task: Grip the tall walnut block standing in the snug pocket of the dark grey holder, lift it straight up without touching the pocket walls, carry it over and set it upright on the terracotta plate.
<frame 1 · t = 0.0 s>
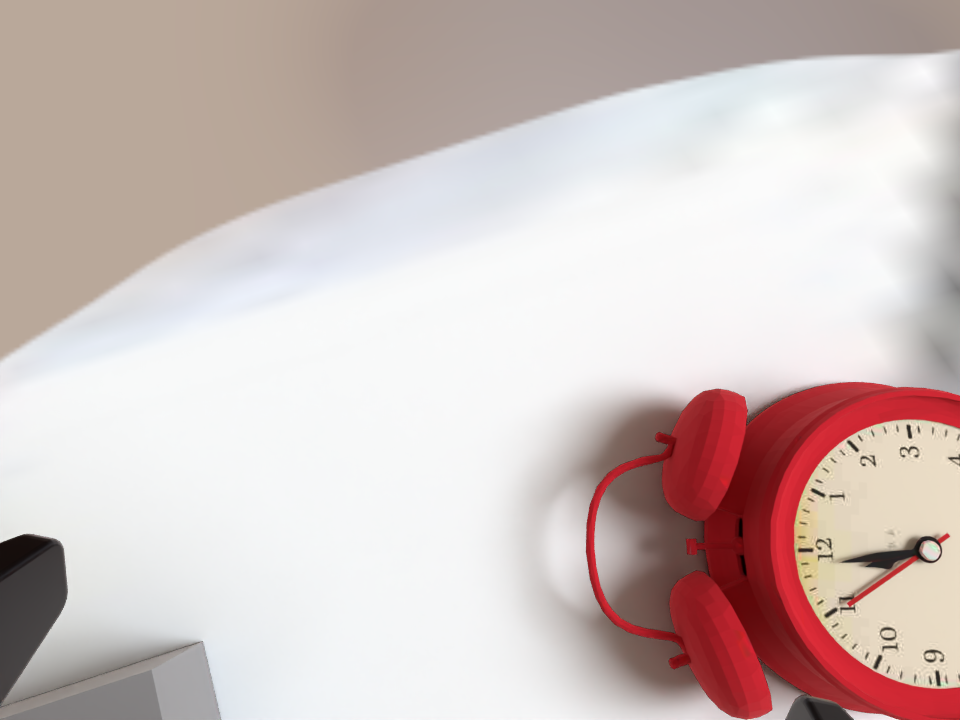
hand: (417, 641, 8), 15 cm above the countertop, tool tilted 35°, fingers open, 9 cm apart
alarm clock: (803, 539, 23), on the countertop
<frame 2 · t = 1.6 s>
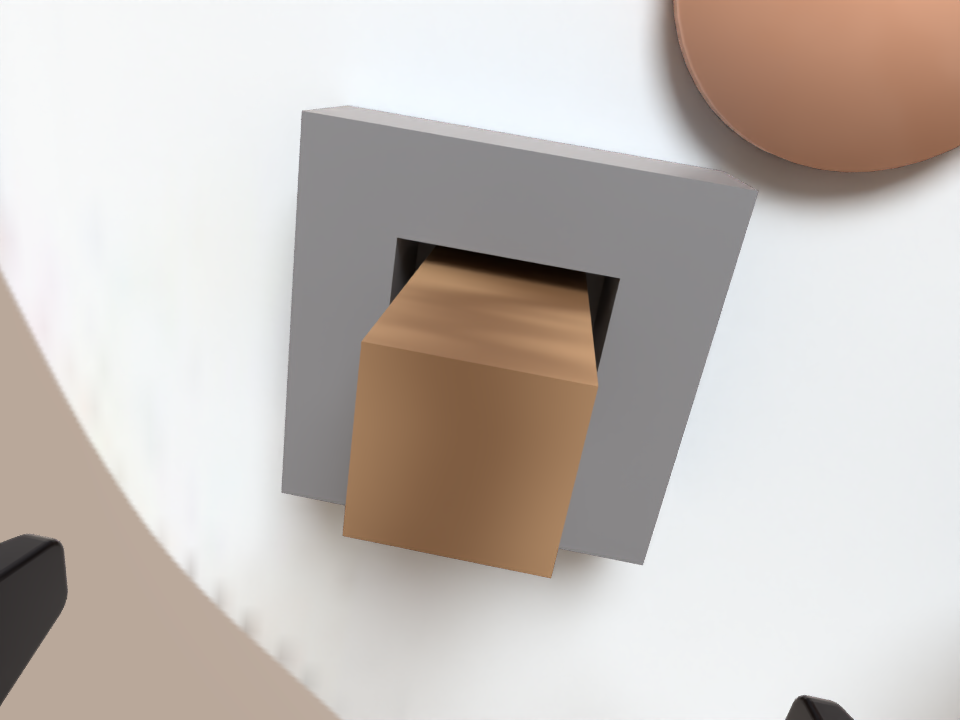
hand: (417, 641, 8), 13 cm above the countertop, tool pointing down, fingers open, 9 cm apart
pocket holder: (501, 316, 20), on the countertop
walnut block: (500, 321, 20), resting on pocket holder
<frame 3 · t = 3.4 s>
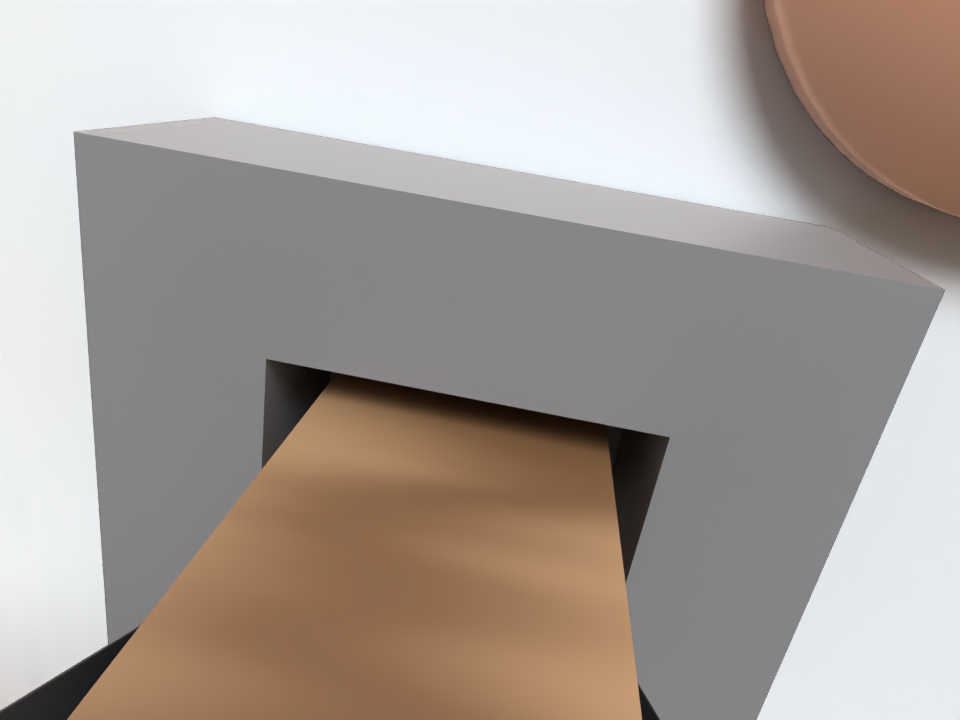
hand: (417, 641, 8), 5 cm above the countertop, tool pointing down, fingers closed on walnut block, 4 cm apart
pocket holder: (469, 442, 13), on the countertop
walnut block: (465, 455, 12), resting on pocket holder, touching gripper
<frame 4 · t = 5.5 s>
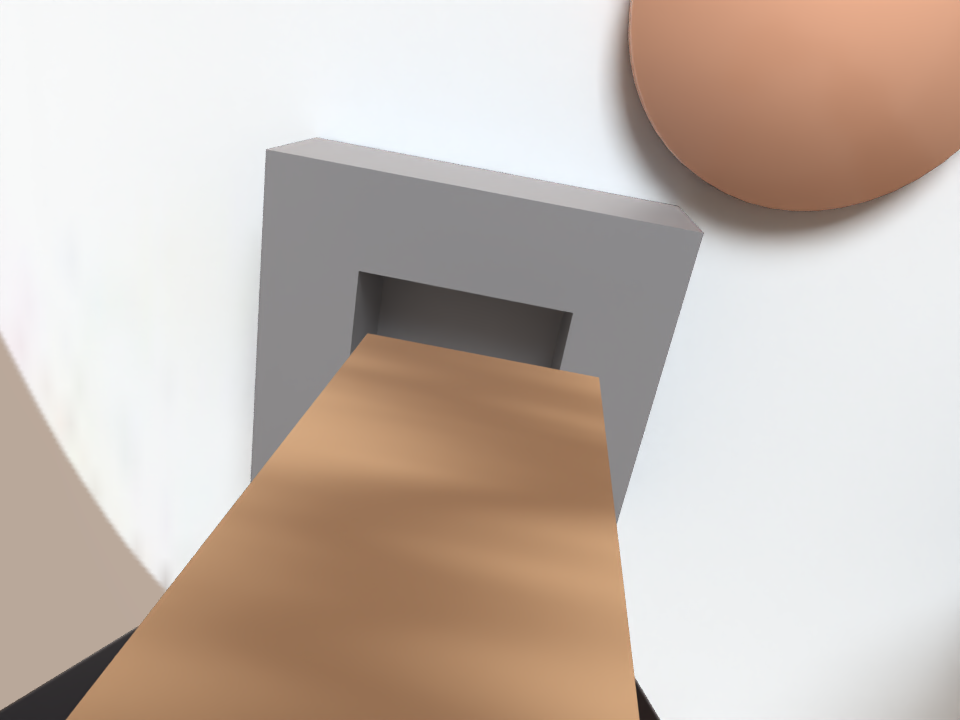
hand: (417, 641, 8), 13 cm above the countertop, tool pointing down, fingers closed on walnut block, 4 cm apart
pocket holder: (466, 340, 21), on the countertop
terracotta plate: (819, 14, 17), on the countertop
walnut block: (464, 456, 12), point 8 cm above the countertop, touching gripper
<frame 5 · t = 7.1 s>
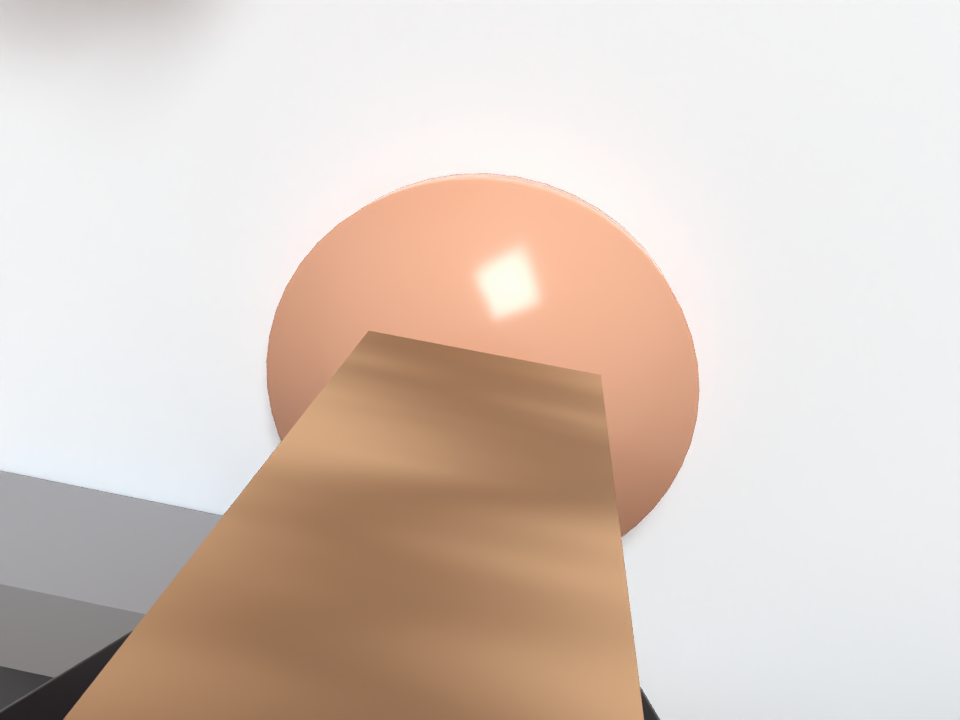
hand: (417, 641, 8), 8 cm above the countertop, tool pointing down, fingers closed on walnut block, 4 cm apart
pocket holder: (181, 653, 19), on the countertop
terracotta plate: (481, 382, 15), on the countertop
walnut block: (466, 453, 12), point 3 cm above the countertop, touching gripper
when the fingers open (6 cm above the countertop, at t = 8.0 s): walnut block stays where it is, resting on terracotta plate.
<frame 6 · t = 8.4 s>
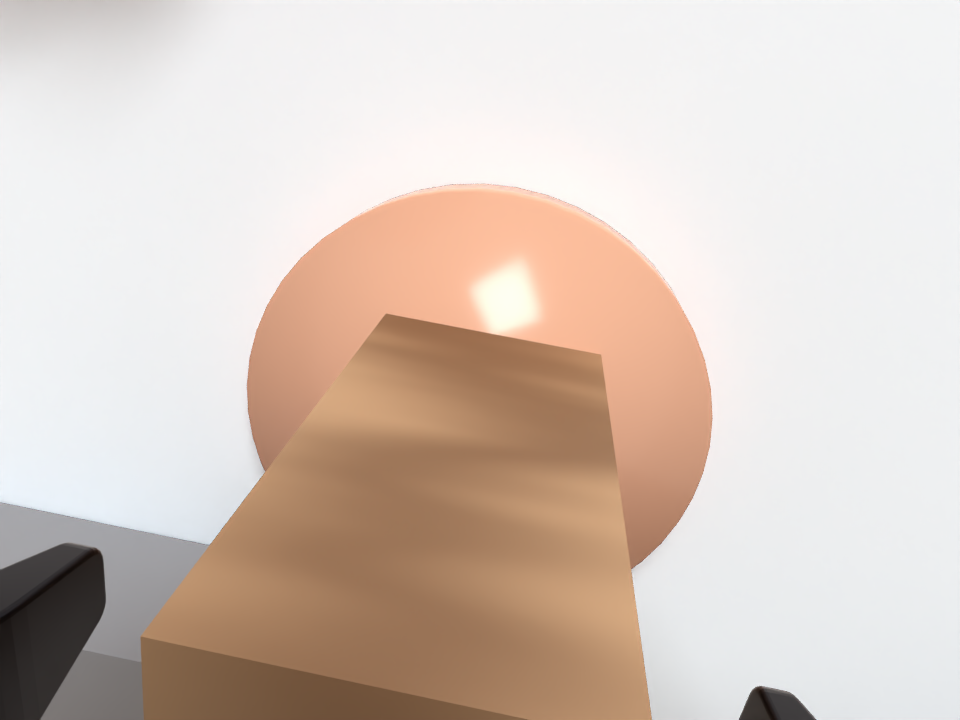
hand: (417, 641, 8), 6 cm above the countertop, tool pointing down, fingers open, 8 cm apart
pocket holder: (162, 686, 18), on the countertop
terracotta plate: (477, 405, 14), on the countertop
walnut block: (475, 429, 13), point 1 cm above the countertop, touching terracotta plate
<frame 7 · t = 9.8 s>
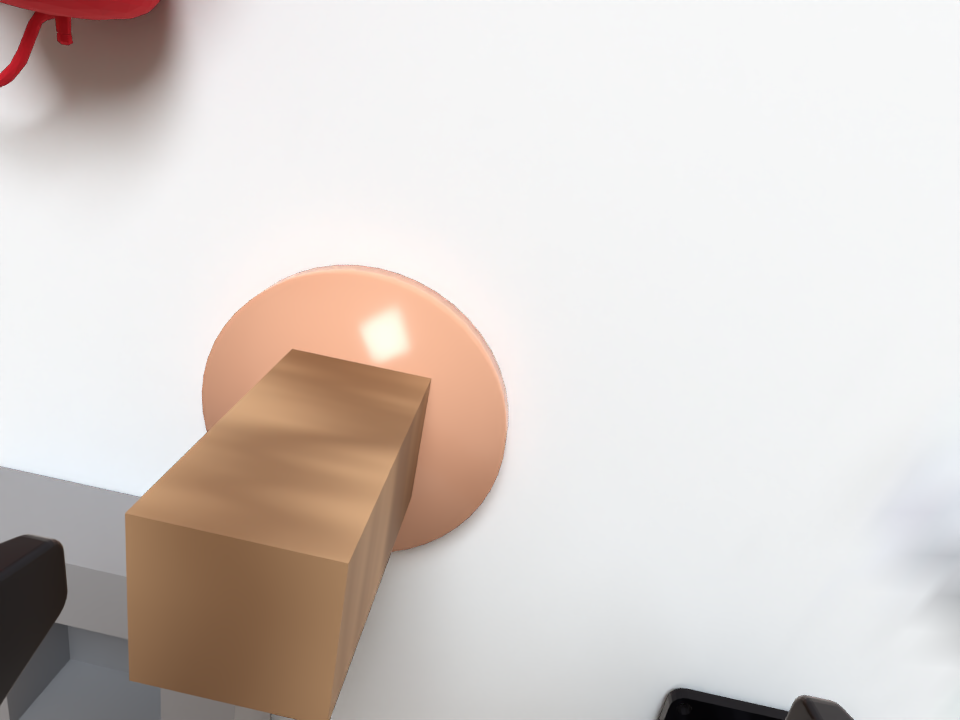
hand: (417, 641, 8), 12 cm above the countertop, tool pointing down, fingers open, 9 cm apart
pocket holder: (143, 611, 25), on the countertop
terracotta plate: (360, 409, 21), on the countertop
walnut block: (353, 425, 20), point 1 cm above the countertop, touching terracotta plate
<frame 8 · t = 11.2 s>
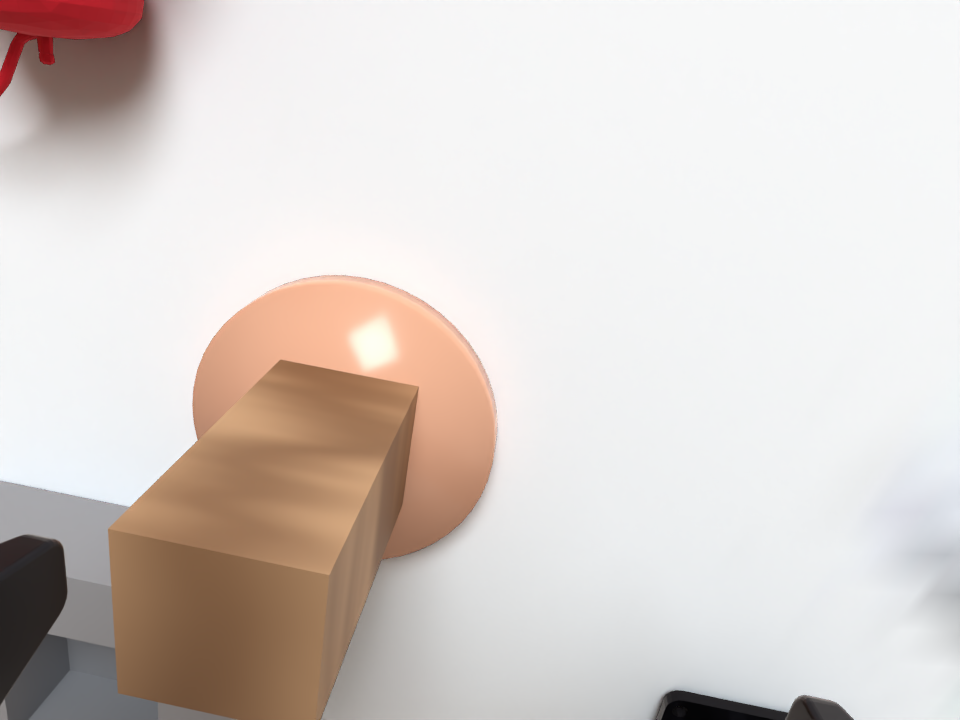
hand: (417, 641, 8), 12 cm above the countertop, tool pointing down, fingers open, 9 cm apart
pocket holder: (141, 621, 25), on the countertop
terracotta plate: (350, 418, 21), on the countertop
walnut block: (343, 434, 20), point 1 cm above the countertop, touching terracotta plate
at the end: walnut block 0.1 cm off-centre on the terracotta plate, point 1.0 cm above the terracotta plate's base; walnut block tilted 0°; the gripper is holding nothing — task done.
